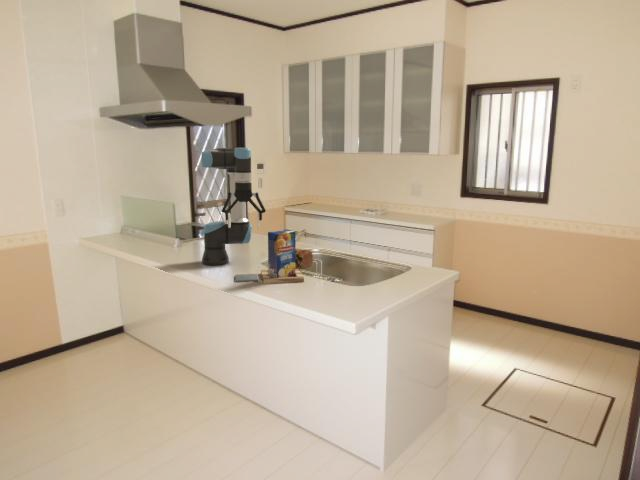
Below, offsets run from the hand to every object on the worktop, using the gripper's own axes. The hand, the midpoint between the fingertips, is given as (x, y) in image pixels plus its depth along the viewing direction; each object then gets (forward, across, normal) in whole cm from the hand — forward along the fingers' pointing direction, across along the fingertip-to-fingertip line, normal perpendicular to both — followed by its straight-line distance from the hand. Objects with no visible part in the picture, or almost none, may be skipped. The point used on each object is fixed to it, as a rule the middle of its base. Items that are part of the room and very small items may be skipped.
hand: (244, 227), depth 214 cm
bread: (+29, +24, +38) cm, 53 cm away
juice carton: (+29, +17, +14) cm, 36 cm away
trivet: (+29, -1, +12) cm, 31 cm away
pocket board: (+29, +17, +14) cm, 36 cm away
